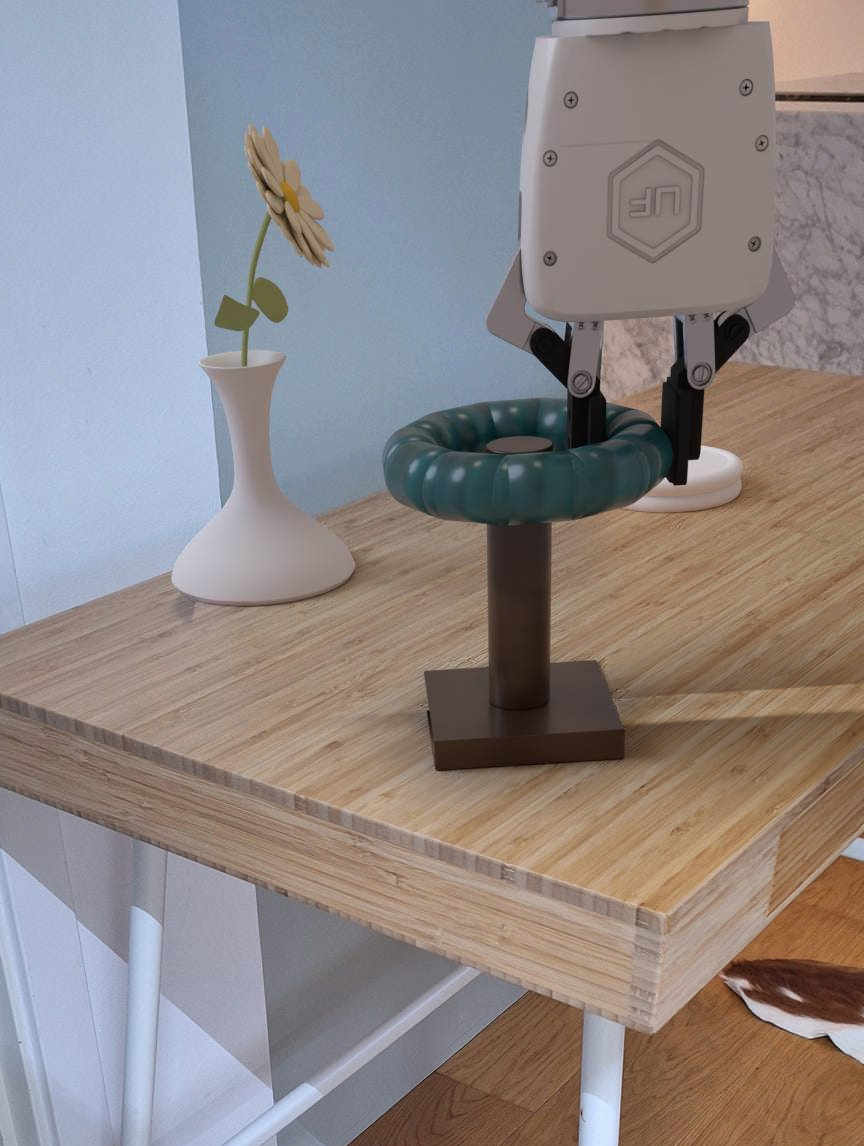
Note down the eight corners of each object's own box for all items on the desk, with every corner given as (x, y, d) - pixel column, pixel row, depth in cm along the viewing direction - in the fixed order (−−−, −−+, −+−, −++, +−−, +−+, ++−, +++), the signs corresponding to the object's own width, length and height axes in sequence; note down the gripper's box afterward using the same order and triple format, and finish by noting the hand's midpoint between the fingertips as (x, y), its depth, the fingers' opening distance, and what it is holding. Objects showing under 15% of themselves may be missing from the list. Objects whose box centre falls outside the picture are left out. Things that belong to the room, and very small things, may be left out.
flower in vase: (286, 640, 85) (239, 137, 71) (137, 613, 91) (65, 140, 76) (405, 574, 94) (385, 114, 80) (262, 552, 99) (219, 118, 85)
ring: (640, 444, 72) (642, 383, 70) (693, 520, 62) (697, 450, 60) (380, 464, 72) (377, 403, 71) (390, 542, 62) (386, 474, 60)
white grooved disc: (564, 519, 102) (565, 466, 100) (644, 485, 108) (647, 435, 106) (689, 542, 96) (693, 487, 94) (766, 505, 102) (771, 452, 100)
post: (595, 687, 77) (604, 414, 69) (623, 758, 70) (637, 462, 62) (424, 697, 77) (413, 427, 69) (435, 770, 70) (424, 476, 62)
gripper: (443, 0, 53) (458, 517, 64) (895, -33, 53) (835, 490, 64) (431, 0, 59) (447, 472, 70) (836, -29, 59) (790, 448, 70)
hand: (632, 476), depth 67 cm, fingers closed on ring, 3 cm apart
